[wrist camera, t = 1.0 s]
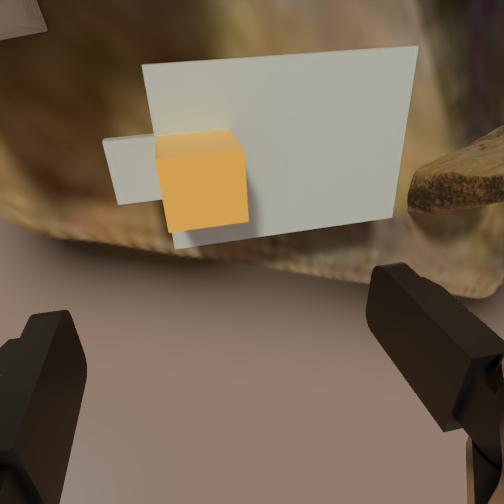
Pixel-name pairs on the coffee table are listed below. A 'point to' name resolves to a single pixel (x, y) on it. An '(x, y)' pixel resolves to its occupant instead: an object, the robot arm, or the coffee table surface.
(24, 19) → the supplement box
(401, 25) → the coffee table surface
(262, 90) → the lid
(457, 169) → the rock
